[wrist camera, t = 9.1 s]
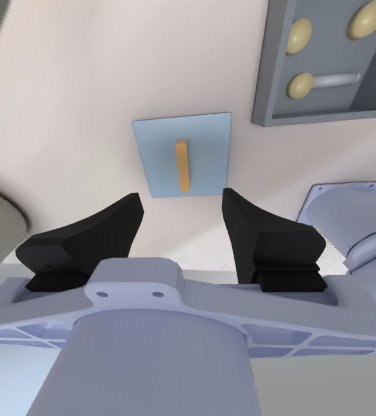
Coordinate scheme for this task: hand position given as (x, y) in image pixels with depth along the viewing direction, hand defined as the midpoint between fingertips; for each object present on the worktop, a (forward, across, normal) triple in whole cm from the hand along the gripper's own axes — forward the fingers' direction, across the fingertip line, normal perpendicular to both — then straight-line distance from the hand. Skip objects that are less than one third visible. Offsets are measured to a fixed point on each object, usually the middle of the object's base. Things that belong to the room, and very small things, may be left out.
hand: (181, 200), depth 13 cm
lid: (+11, 0, 0) cm, 11 cm away
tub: (+10, -14, -9) cm, 20 cm away
